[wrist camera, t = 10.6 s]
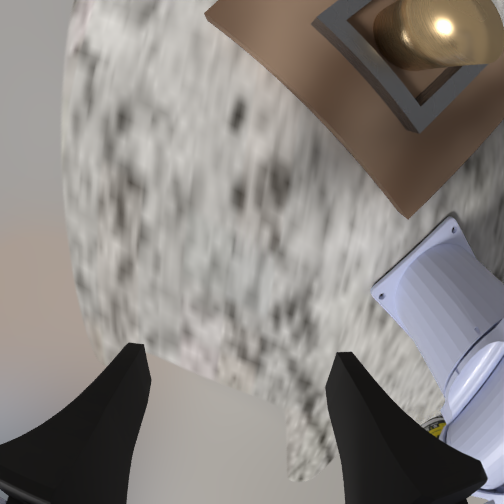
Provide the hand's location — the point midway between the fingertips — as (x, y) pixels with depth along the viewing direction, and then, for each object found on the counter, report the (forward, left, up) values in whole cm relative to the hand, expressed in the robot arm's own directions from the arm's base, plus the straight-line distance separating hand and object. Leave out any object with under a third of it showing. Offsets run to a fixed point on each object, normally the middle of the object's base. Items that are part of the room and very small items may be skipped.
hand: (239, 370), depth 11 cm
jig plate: (+3, -16, -9) cm, 19 cm away
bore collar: (+3, -16, -8) cm, 18 cm away
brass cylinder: (+3, -16, -8) cm, 18 cm away
